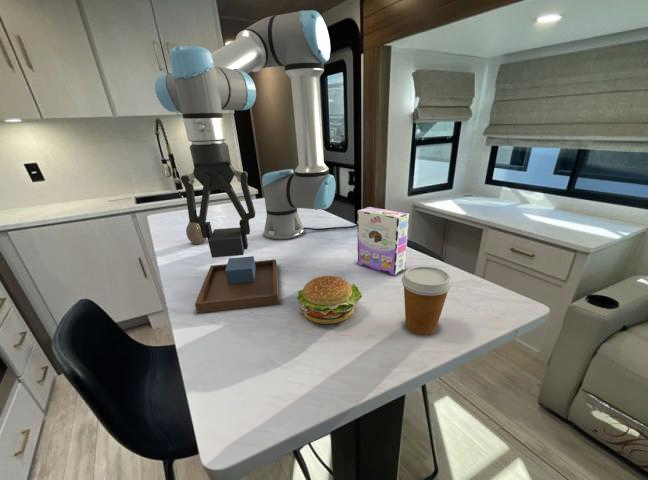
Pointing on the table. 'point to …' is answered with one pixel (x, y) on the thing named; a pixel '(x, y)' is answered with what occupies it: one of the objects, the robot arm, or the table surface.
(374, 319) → the table surface
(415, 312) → the disposable coffee cup
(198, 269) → the table surface
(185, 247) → the table surface
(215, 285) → the brown wooden tray
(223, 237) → the pad
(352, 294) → the food
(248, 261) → the pad
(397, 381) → the table surface
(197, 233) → the vase
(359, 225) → the candy box
